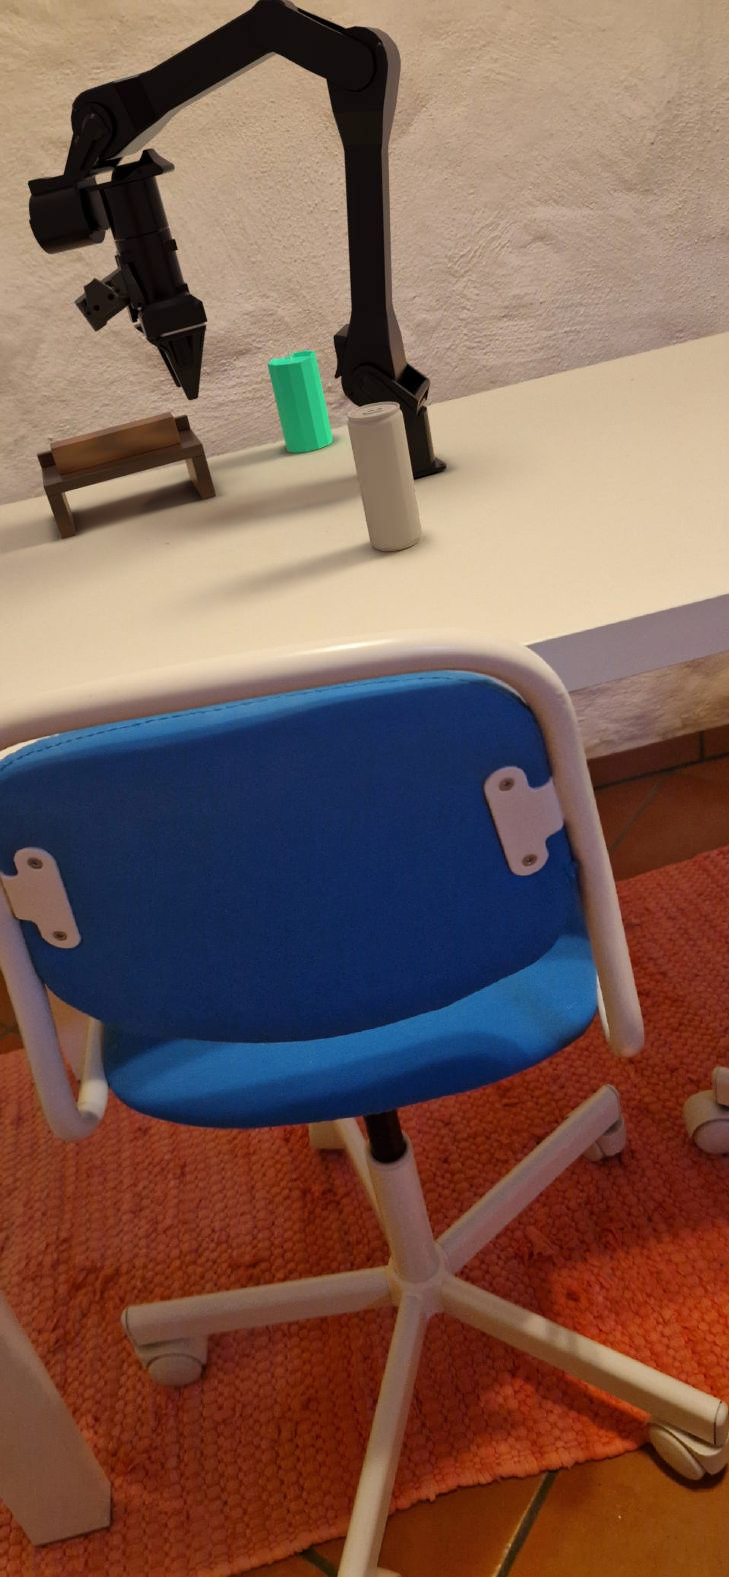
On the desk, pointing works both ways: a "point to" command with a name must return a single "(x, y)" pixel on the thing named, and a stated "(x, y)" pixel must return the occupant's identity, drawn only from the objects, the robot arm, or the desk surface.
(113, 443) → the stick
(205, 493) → the shelf
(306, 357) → the candle
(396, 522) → the beverage can
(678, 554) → the desk surface
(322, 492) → the desk surface
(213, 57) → the robot arm
